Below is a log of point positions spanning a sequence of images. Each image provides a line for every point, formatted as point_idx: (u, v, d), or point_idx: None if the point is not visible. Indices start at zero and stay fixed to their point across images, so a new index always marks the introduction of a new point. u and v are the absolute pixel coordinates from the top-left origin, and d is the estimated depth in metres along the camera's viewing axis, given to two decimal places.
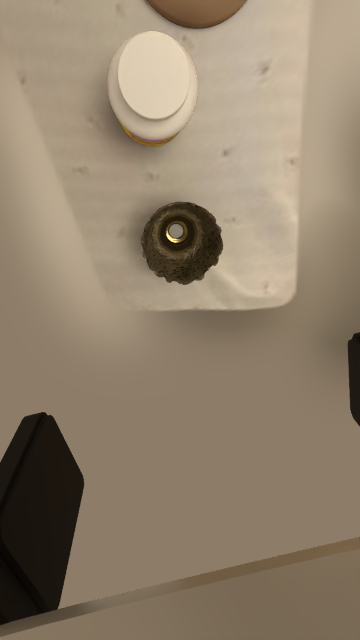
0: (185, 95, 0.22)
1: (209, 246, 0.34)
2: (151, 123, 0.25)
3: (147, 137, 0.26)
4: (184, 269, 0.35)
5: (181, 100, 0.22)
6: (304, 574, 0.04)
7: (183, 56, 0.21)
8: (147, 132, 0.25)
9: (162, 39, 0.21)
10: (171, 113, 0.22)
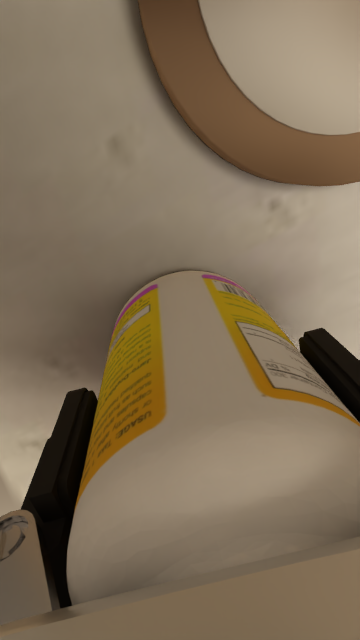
0: None
1: None
2: None
3: None
4: None
5: None
6: (304, 574, 0.04)
7: None
8: None
9: None
10: None
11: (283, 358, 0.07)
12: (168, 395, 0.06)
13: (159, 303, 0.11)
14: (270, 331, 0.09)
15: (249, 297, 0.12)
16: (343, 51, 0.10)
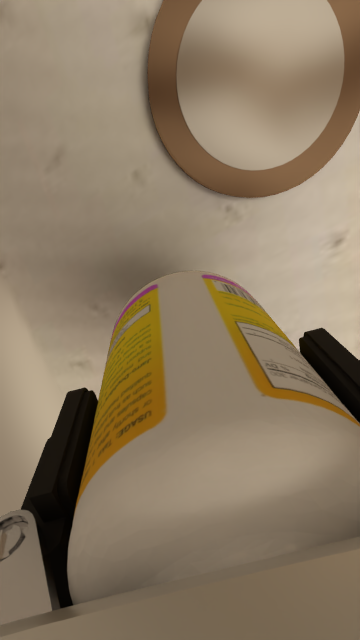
0: None
1: None
2: None
3: None
4: None
5: None
6: (304, 574, 0.04)
7: None
8: None
9: None
10: None
11: (282, 358, 0.07)
12: (168, 395, 0.06)
13: (159, 303, 0.11)
14: (270, 331, 0.09)
15: (249, 297, 0.12)
16: (255, 129, 0.19)
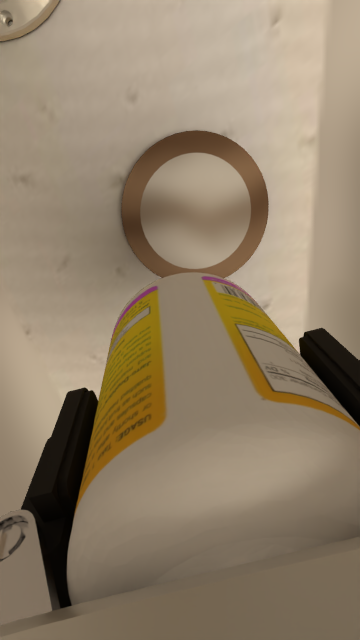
0: None
1: None
2: None
3: None
4: None
5: None
6: (304, 574, 0.04)
7: None
8: None
9: None
10: None
11: (282, 362, 0.07)
12: (168, 398, 0.06)
13: (159, 305, 0.11)
14: (270, 333, 0.09)
15: (249, 299, 0.12)
16: (195, 244, 0.28)
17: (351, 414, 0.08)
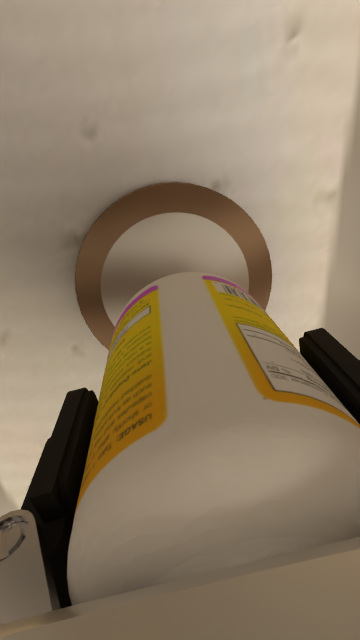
0: None
1: None
2: None
3: None
4: None
5: None
6: (304, 574, 0.04)
7: None
8: None
9: None
10: None
11: (283, 361, 0.07)
12: (168, 398, 0.06)
13: (159, 304, 0.11)
14: (271, 333, 0.09)
15: (249, 298, 0.12)
16: None
17: (351, 414, 0.08)
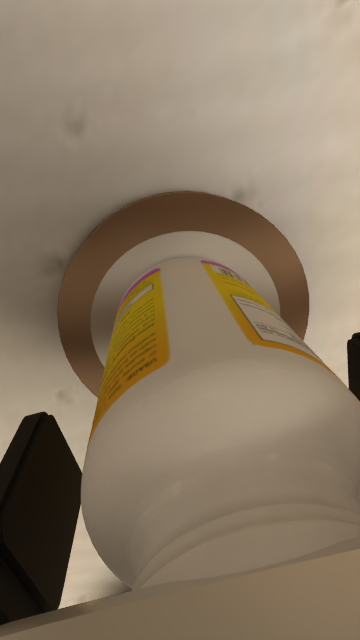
0: None
1: None
2: None
3: None
4: None
5: None
6: (304, 574, 0.04)
7: None
8: None
9: None
10: None
11: (271, 323, 0.08)
12: (171, 346, 0.07)
13: (161, 282, 0.12)
14: (261, 305, 0.10)
15: (244, 281, 0.13)
16: None
17: None
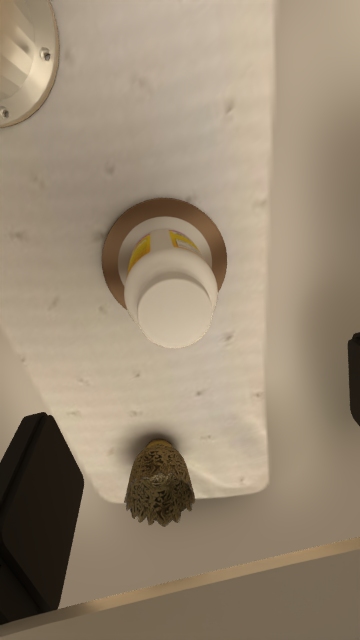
0: (206, 328, 0.21)
1: None
2: None
3: None
4: (165, 497, 0.40)
5: (202, 333, 0.21)
6: (304, 574, 0.04)
7: (205, 298, 0.20)
8: None
9: (184, 285, 0.20)
10: (191, 343, 0.22)
11: (186, 245, 0.25)
12: (150, 249, 0.24)
13: (150, 237, 0.28)
14: (187, 242, 0.26)
15: (187, 238, 0.29)
16: None
17: None
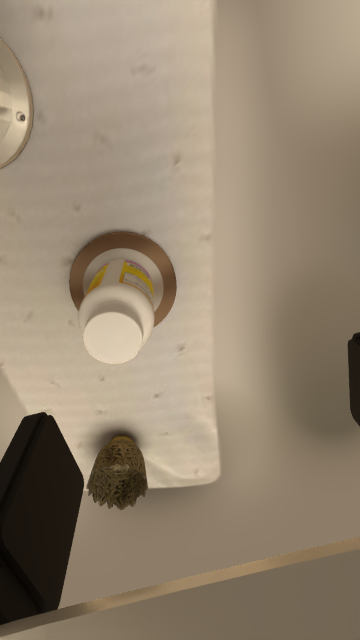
0: (138, 350, 0.27)
1: None
2: None
3: None
4: (124, 485, 0.46)
5: (135, 353, 0.27)
6: (304, 574, 0.04)
7: (136, 326, 0.26)
8: None
9: (119, 316, 0.26)
10: (127, 360, 0.28)
11: (131, 279, 0.31)
12: (101, 283, 0.30)
13: (106, 268, 0.34)
14: (135, 275, 0.32)
15: (139, 268, 0.35)
16: None
17: None
